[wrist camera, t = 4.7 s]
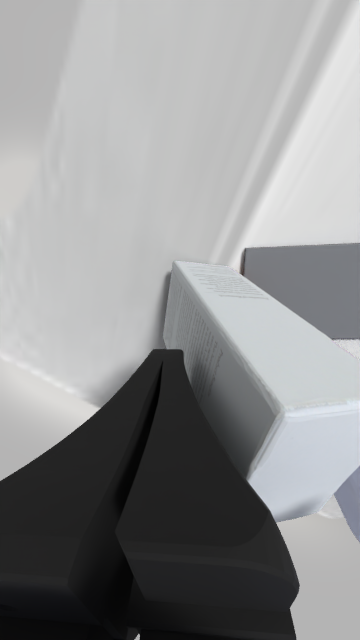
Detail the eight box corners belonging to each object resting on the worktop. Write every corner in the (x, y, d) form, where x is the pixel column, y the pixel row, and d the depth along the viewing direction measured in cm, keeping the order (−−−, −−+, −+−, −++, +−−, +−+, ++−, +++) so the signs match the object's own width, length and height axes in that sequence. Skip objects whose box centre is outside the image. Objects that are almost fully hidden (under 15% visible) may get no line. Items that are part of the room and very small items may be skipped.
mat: (376, 335, 17) (380, 338, 17) (238, 337, 18) (239, 339, 18) (415, 240, 14) (421, 241, 14) (245, 248, 15) (246, 249, 15)
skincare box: (213, 336, 18) (318, 516, 8) (161, 335, 17) (211, 540, 7) (232, 262, 16) (429, 402, 5) (171, 256, 15) (278, 416, 4)
